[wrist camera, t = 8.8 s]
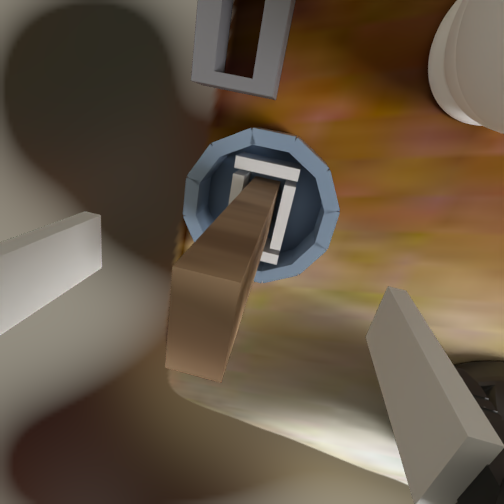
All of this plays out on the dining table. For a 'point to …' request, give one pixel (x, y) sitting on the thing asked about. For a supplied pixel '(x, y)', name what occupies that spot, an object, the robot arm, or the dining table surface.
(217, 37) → the grey slotted block
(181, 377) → the dining table surface
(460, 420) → the robot arm
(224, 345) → the brown long rectangular bar
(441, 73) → the jar
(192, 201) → the candle dish
